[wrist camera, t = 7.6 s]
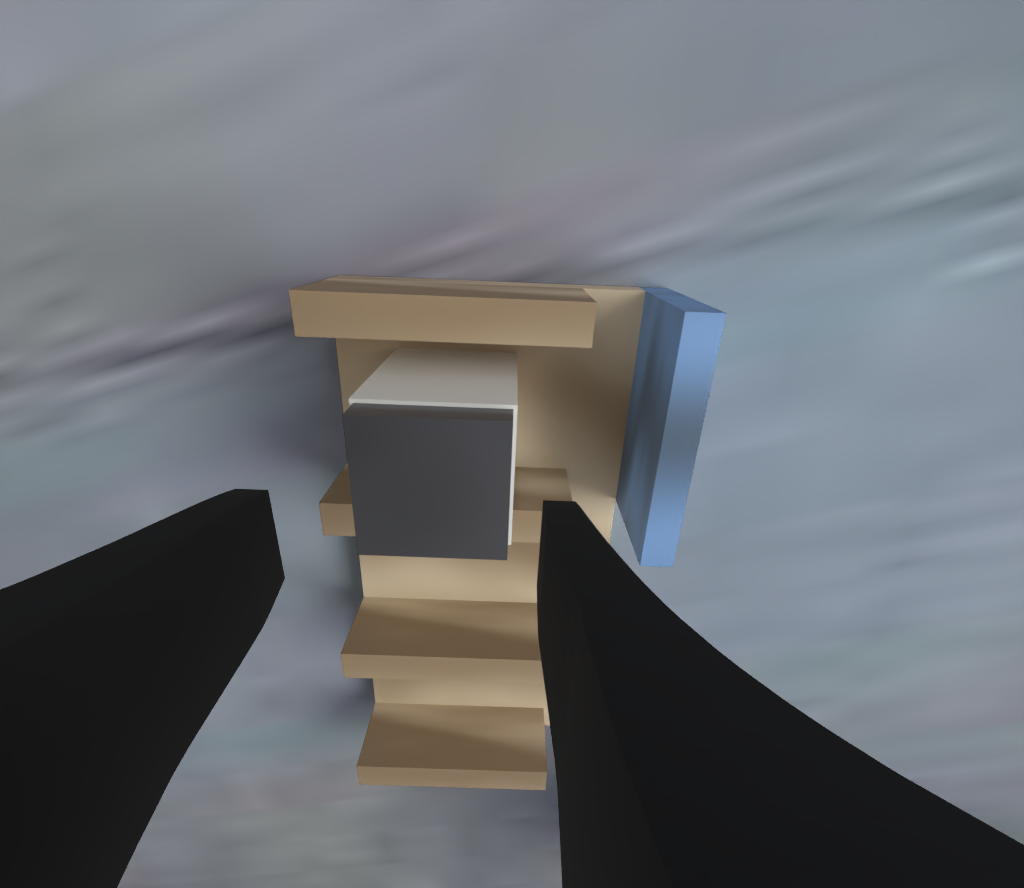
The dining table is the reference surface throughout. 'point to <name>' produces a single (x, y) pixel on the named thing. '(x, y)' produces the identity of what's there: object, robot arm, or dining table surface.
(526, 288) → the cable comb
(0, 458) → the dining table surface
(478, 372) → the grey rectangular block
